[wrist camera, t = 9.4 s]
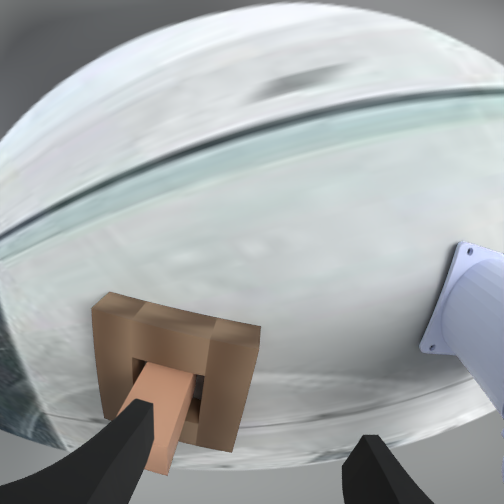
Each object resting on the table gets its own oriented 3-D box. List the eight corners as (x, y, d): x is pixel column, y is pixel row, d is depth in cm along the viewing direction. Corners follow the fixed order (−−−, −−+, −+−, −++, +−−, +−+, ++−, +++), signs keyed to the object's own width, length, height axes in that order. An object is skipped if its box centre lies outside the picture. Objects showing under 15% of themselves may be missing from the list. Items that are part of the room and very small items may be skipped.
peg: (199, 356, 20) (167, 447, 12) (195, 387, 21) (167, 475, 13) (156, 345, 20) (109, 428, 12) (155, 377, 21) (115, 459, 13)
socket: (260, 326, 19) (259, 349, 16) (235, 429, 22) (231, 452, 19) (109, 291, 19) (91, 308, 16) (115, 398, 22) (104, 418, 19)
